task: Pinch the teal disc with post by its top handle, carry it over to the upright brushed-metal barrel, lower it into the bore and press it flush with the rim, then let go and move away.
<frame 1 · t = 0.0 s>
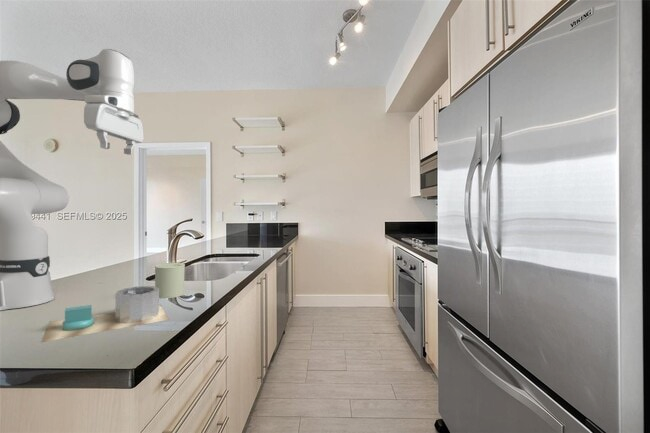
hand: (117, 151, 94), 48 cm above the counter, tool pointing down, fingers open, 8 cm apart
teal disc with post: (78, 326, 76), point 1 cm above the counter, touching base plate
lens barrel: (137, 316, 83), resting on base plate
base plate: (110, 326, 79), on the counter
can: (169, 299, 104), on the counter
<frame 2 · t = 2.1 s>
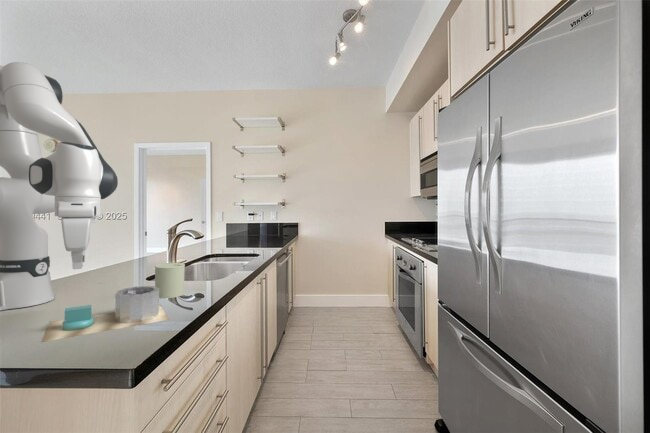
hand: (78, 265, 75), 17 cm above the counter, tool pointing down, fingers open, 8 cm apart
nothing on the counter moved.
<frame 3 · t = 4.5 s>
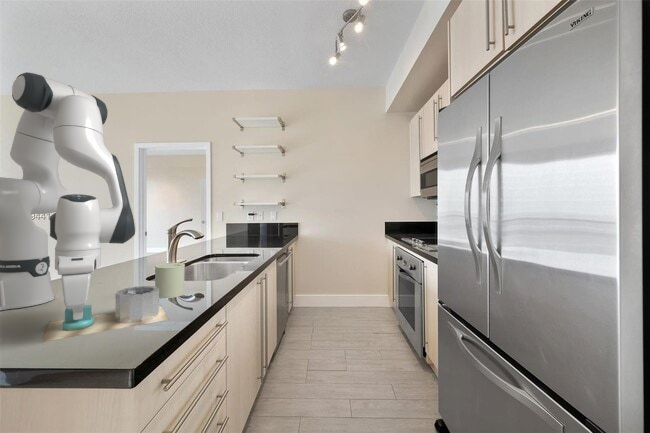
hand: (78, 316, 75), 4 cm above the counter, tool pointing down, fingers closed on teal disc with post, 2 cm apart
teal disc with post: (78, 325, 76), point 2 cm above the counter, touching base plate, gripper
everything else where it was.
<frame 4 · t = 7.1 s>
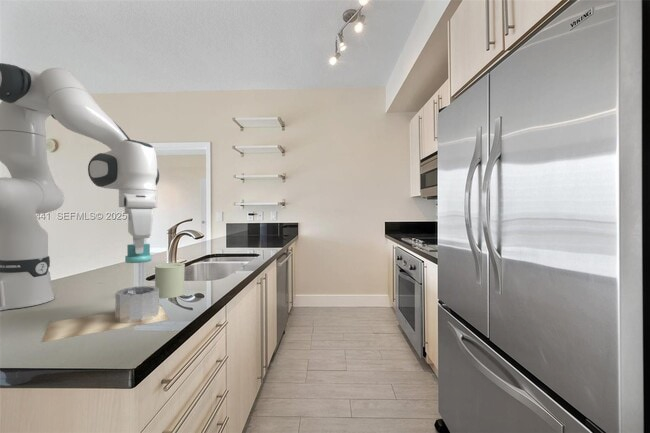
hand: (138, 252, 82), 19 cm above the counter, tool pointing down, fingers closed on teal disc with post, 2 cm apart
teal disc with post: (138, 261, 83), point 17 cm above the counter, touching gripper
everything else where it was.
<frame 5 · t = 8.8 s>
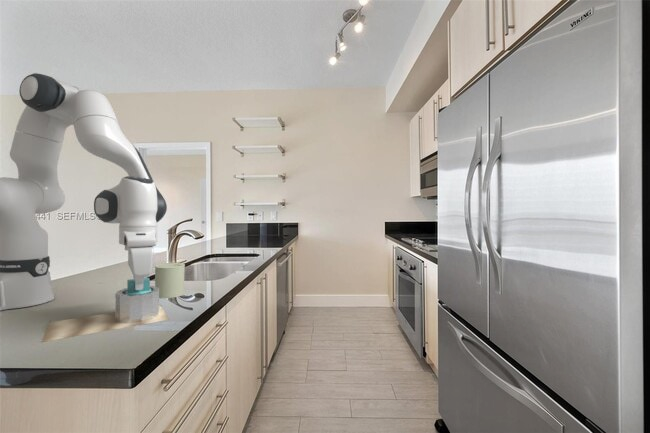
hand: (138, 287, 83), 9 cm above the counter, tool pointing down, fingers closed on teal disc with post, 2 cm apart
teal disc with post: (138, 296, 83), point 7 cm above the counter, touching gripper, lens barrel
everything else where it was.
when the fingers open (9 cm above the counter, at t = 9.8 s): teal disc with post stays where it is, resting on lens barrel.
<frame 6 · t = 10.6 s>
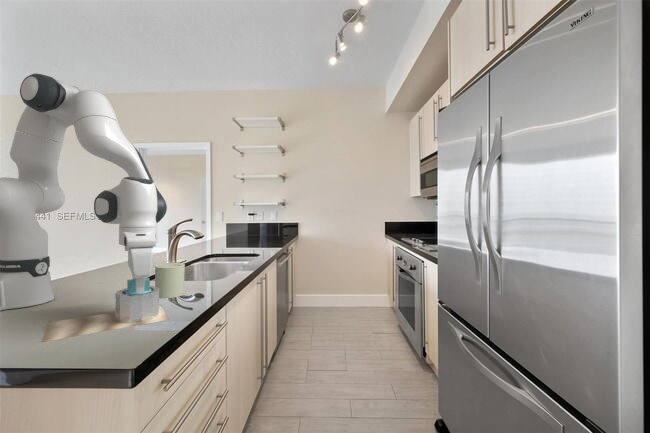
hand: (138, 288, 83), 9 cm above the counter, tool pointing down, fingers open, 8 cm apart
teal disc with post: (138, 296, 83), point 7 cm above the counter, touching lens barrel
everything else where it was.
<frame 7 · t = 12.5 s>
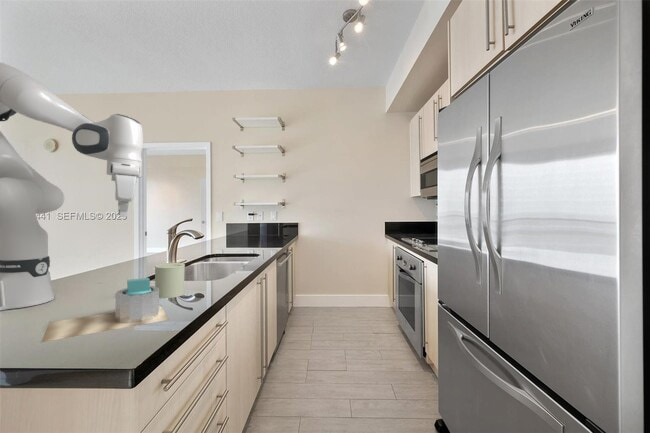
hand: (122, 216, 92), 28 cm above the counter, tool pointing down, fingers open, 8 cm apart
nothing on the counter moved.
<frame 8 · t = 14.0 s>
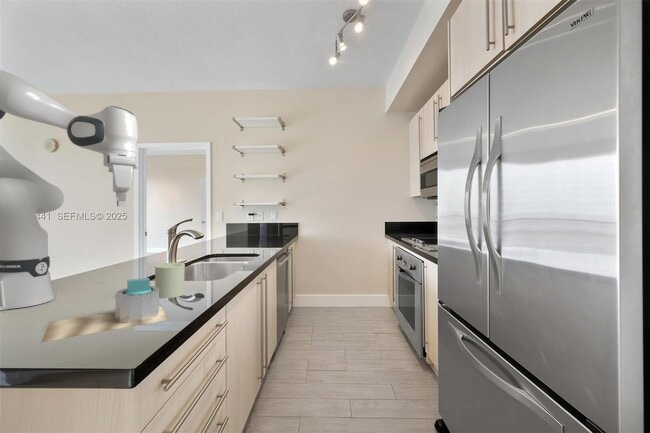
hand: (120, 206, 94), 31 cm above the counter, tool pointing down, fingers open, 8 cm apart
nothing on the counter moved.
at the end: teal disc with post 0.1 cm off-centre on the lens barrel, point 5.5 cm above the lens barrel's base; teal disc with post tilted 0°; the gripper is holding nothing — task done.
